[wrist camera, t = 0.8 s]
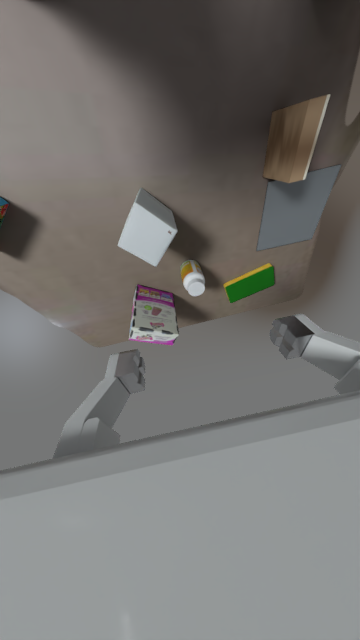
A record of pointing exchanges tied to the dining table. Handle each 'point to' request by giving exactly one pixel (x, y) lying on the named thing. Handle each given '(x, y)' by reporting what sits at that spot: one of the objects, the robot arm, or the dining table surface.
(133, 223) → the supplement box
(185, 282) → the supplement bottle
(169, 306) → the candy bar box
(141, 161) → the dining table surface
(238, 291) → the dish sponge
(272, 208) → the mat
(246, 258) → the dining table surface
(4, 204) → the blue flat box
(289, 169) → the slab
